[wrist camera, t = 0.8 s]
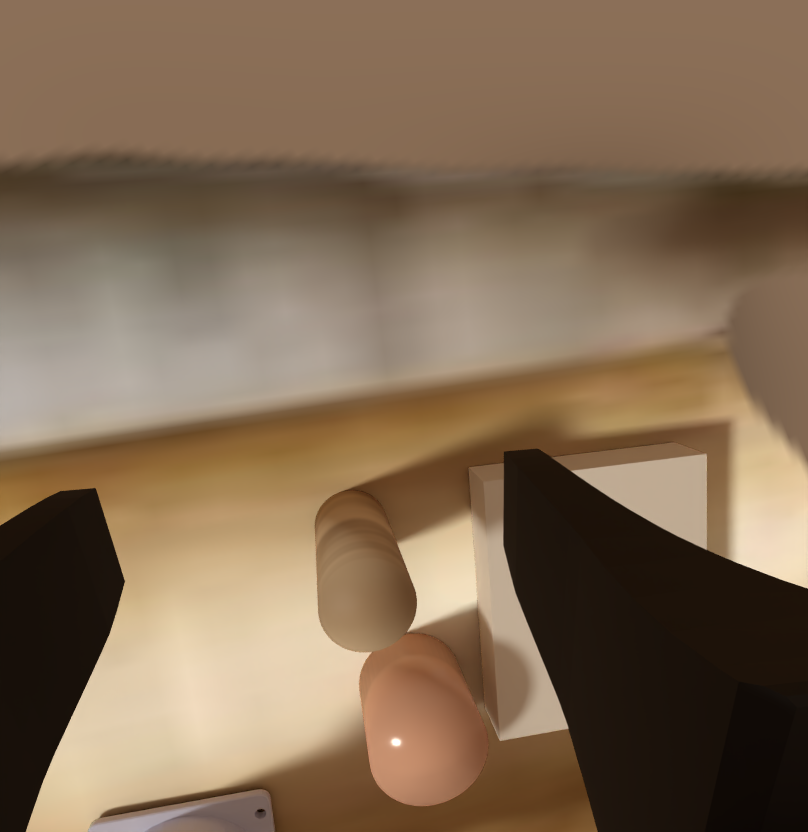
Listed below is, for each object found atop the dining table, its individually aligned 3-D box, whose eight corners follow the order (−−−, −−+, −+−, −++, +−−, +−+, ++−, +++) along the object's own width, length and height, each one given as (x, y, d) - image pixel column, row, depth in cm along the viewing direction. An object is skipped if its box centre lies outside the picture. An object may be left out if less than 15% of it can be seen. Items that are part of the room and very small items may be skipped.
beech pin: (389, 554, 29) (420, 644, 21) (319, 563, 29) (323, 659, 21) (383, 486, 28) (412, 552, 21) (311, 495, 28) (312, 566, 20)
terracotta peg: (462, 717, 31) (492, 793, 26) (364, 734, 30) (375, 816, 25) (455, 625, 30) (484, 687, 25) (354, 641, 29) (363, 707, 25)
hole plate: (676, 673, 32) (706, 703, 30) (484, 707, 31) (500, 741, 28) (674, 442, 30) (706, 453, 28) (468, 467, 29) (483, 481, 26)
